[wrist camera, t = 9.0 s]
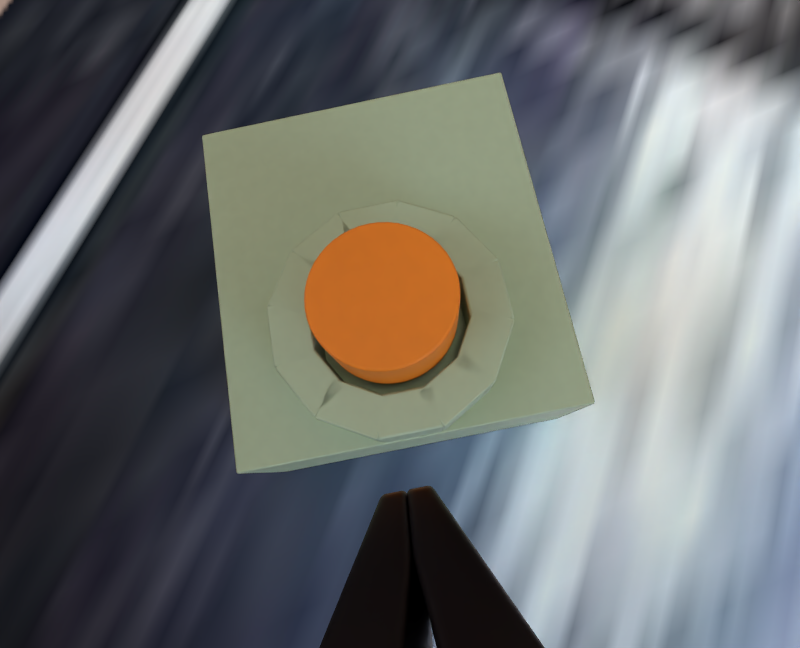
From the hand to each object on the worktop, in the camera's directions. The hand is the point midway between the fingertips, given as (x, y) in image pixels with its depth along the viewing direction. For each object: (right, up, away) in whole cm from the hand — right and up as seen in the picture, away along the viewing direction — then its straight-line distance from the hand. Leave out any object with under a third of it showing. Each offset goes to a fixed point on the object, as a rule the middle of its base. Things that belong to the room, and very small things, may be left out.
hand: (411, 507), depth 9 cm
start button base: (0, +4, +14) cm, 14 cm away
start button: (0, +3, +7) cm, 8 cm away
